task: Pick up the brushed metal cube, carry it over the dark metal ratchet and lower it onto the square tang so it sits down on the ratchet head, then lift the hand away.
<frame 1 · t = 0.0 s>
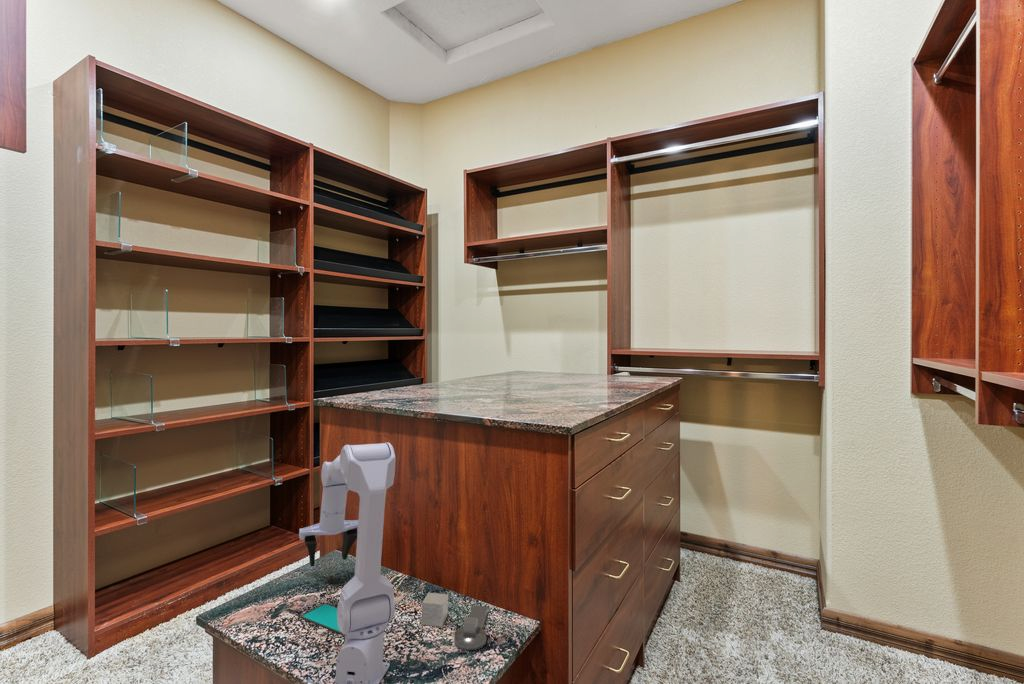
hand: (328, 560, 118), 11 cm above the counter, tool pointing down, fingers open, 7 cm apart
smartphone: (334, 622, 110), on the counter
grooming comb: (367, 598, 122), on the counter
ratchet: (473, 631, 108), on the counter
brushed metal cube: (434, 620, 112), on the counter
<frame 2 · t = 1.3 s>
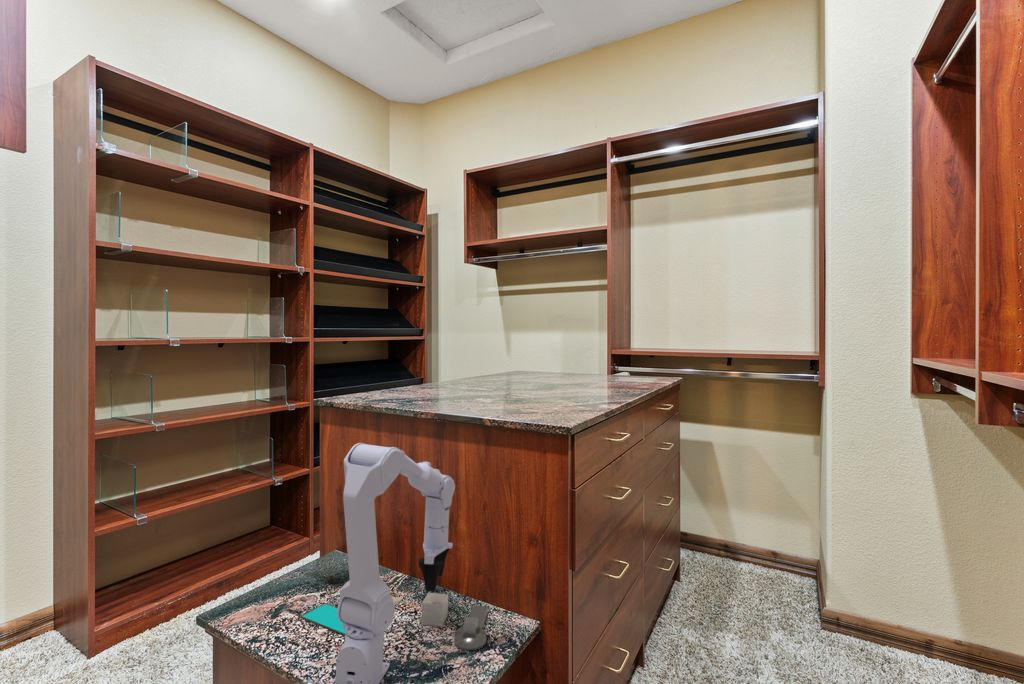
hand: (434, 582, 113), 8 cm above the counter, tool pointing down, fingers open, 7 cm apart
nothing on the counter moved.
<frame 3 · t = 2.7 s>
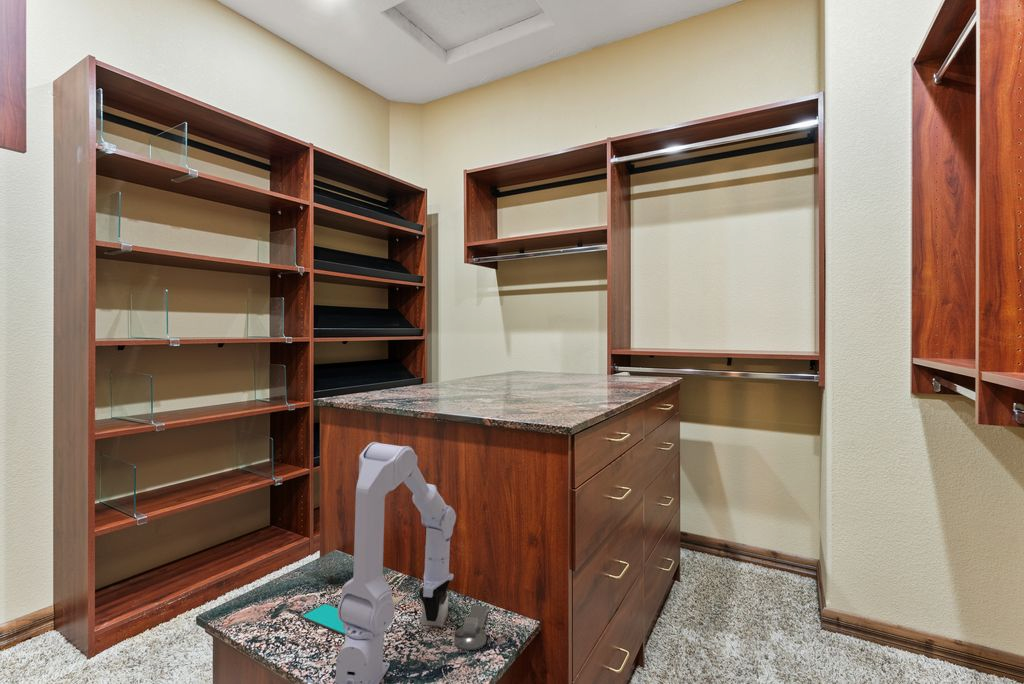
hand: (434, 614, 112), 1 cm above the counter, tool pointing down, fingers closed on brushed metal cube, 5 cm apart
brushed metal cube: (434, 620, 112), on the counter, touching gripper
everything else where it was.
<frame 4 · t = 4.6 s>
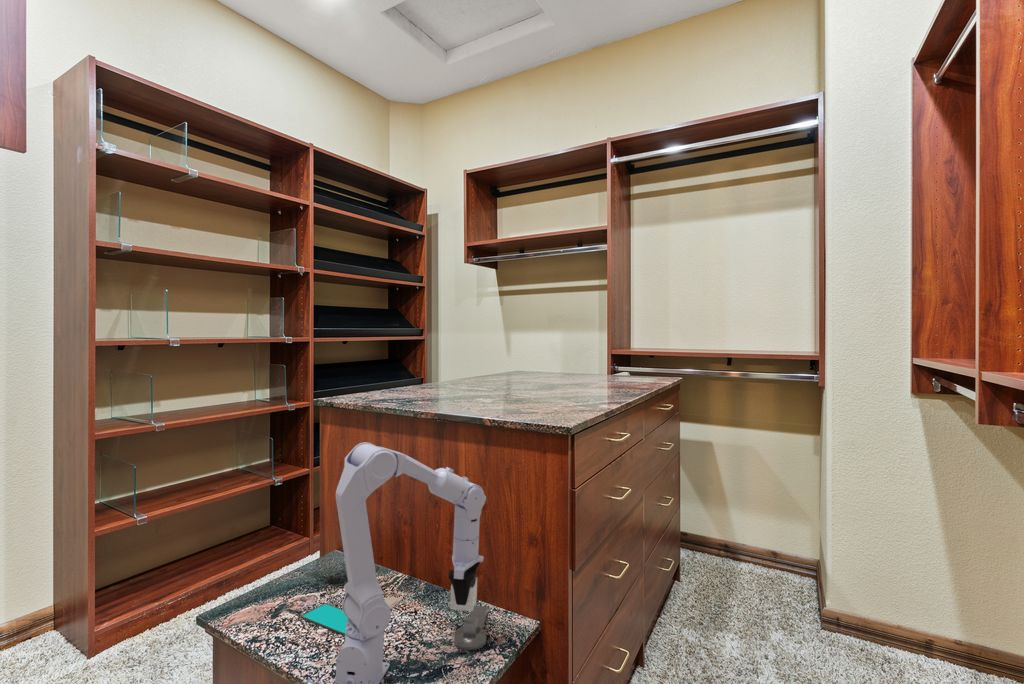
hand: (463, 598, 106), 8 cm above the counter, tool pointing down, fingers closed on brushed metal cube, 5 cm apart
brushed metal cube: (463, 604, 106), point 7 cm above the counter, touching gripper
everything else where it was.
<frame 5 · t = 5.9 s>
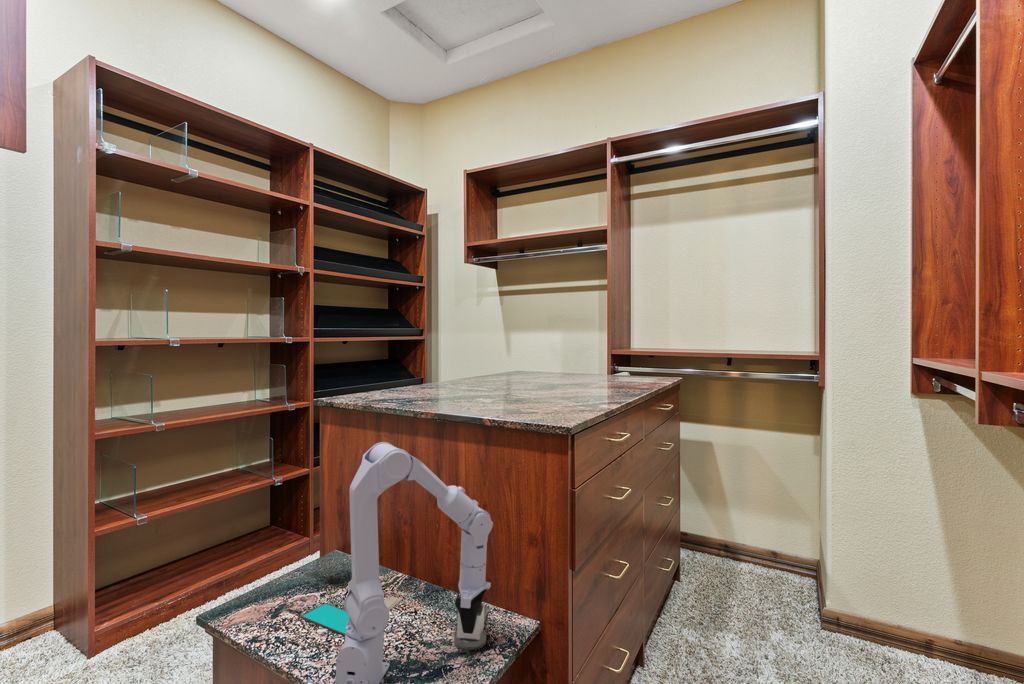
hand: (470, 625, 104), 3 cm above the counter, tool pointing down, fingers closed on brushed metal cube, 5 cm apart
brushed metal cube: (470, 632, 104), point 2 cm above the counter, touching gripper
everything else where it was.
when the fingers open (3 cm above the counter, at t = 6.7 s): brushed metal cube stays where it is, resting on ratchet.
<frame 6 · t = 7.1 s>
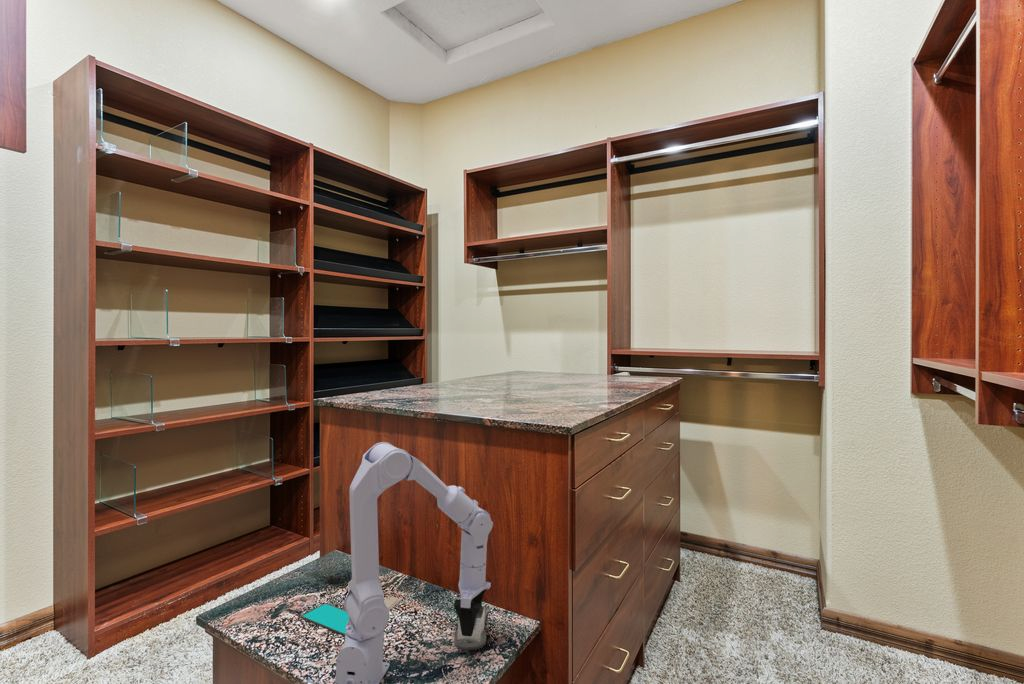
hand: (470, 625, 104), 3 cm above the counter, tool pointing down, fingers open, 7 cm apart
brushed metal cube: (471, 634, 104), point 1 cm above the counter, touching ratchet
everything else where it was.
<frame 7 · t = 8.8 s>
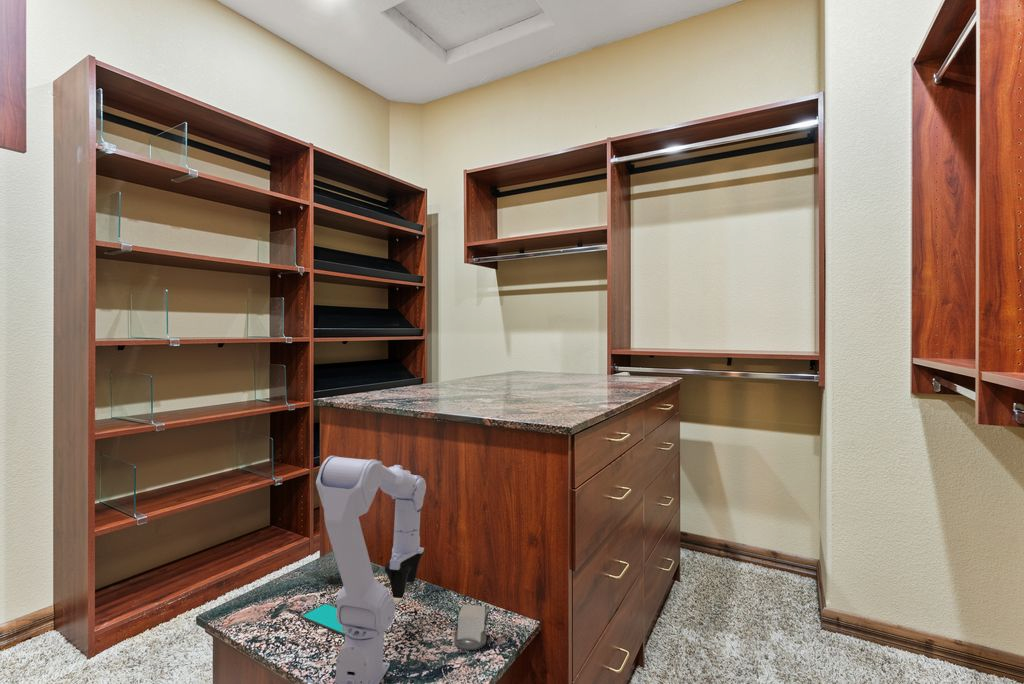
hand: (404, 589, 107), 9 cm above the counter, tool pointing down, fingers open, 7 cm apart
nothing on the counter moved.
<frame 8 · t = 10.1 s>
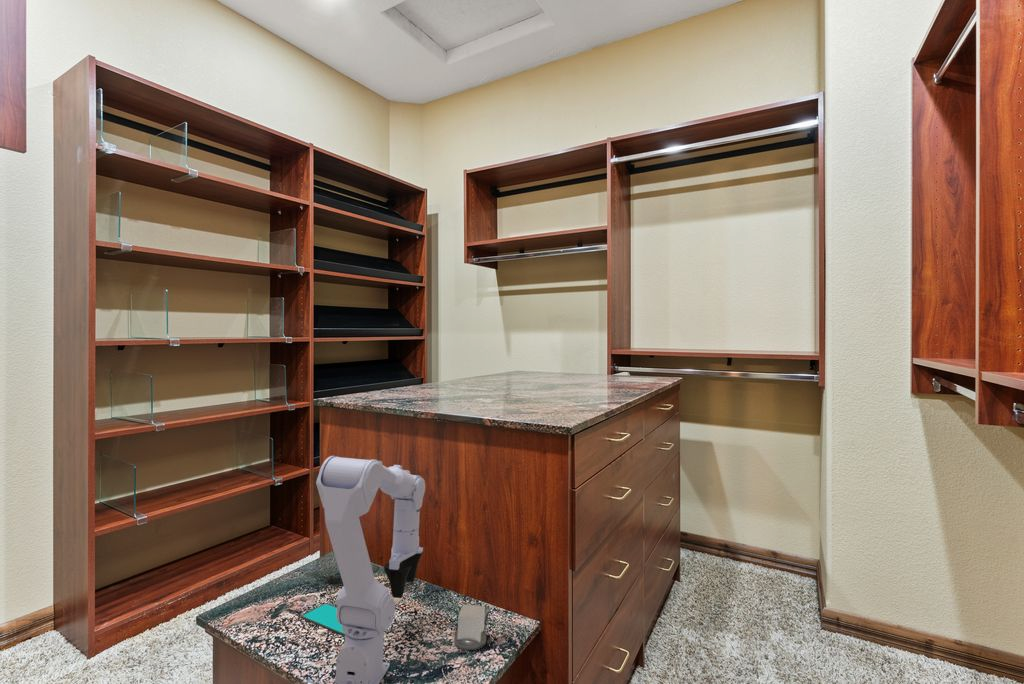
hand: (403, 588, 107), 9 cm above the counter, tool pointing down, fingers open, 7 cm apart
nothing on the counter moved.
at the end: brushed metal cube 0.1 cm from the target spot on the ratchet, point 1.5 cm above the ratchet's base; brushed metal cube tilted 0°; the gripper is holding nothing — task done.
